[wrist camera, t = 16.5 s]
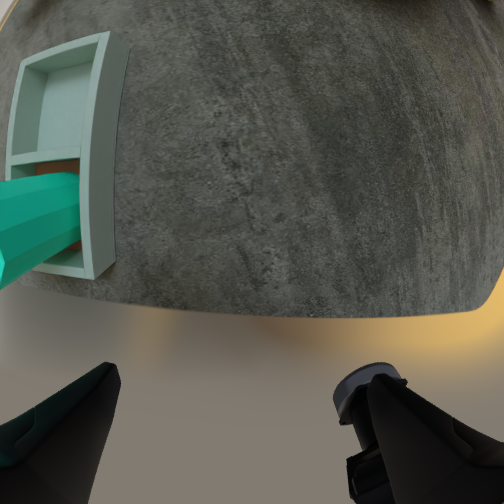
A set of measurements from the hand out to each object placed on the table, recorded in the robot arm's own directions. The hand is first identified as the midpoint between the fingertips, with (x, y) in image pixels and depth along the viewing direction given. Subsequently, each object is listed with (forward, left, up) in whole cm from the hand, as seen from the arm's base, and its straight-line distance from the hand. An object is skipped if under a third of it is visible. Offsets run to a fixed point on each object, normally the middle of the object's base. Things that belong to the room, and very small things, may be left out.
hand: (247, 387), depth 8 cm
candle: (+3, +15, -13) cm, 20 cm away
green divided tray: (+7, +15, -13) cm, 21 cm away
